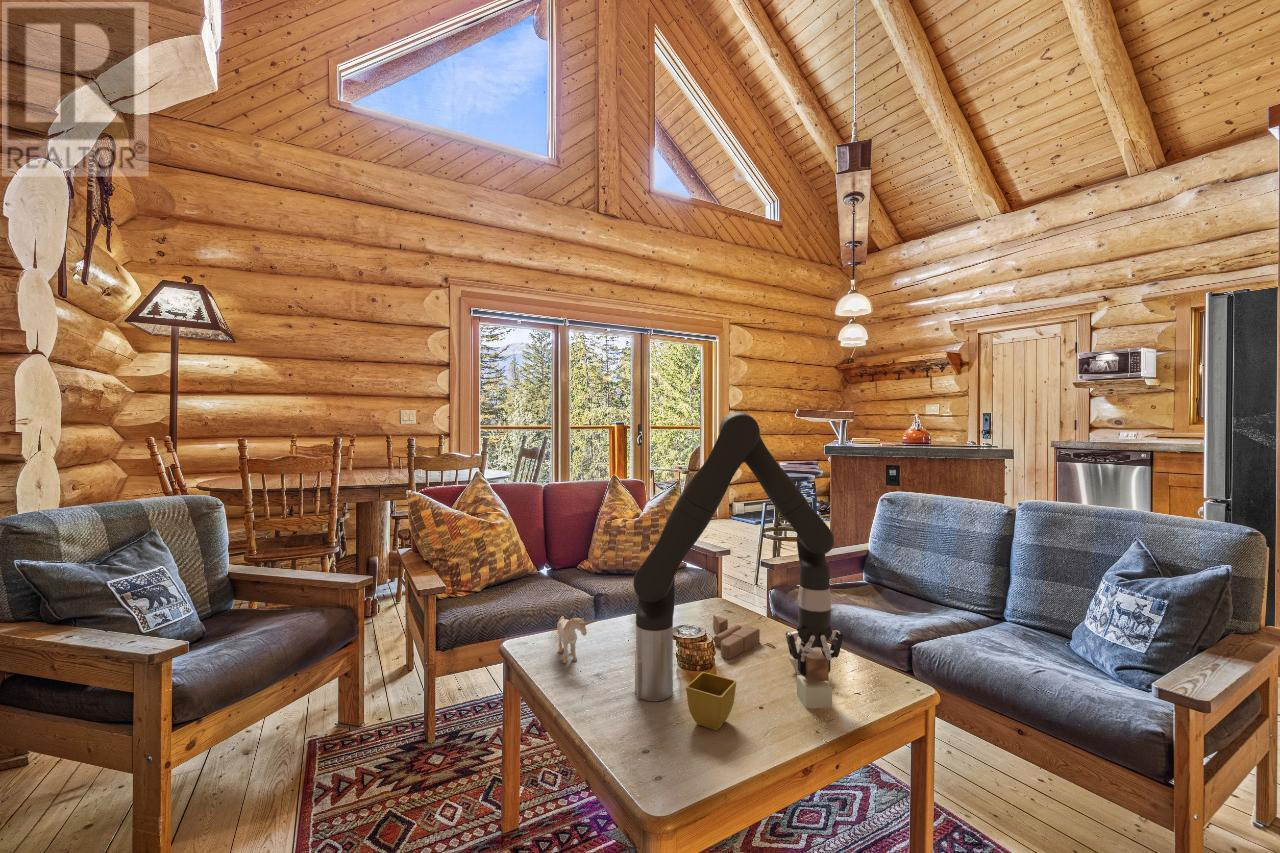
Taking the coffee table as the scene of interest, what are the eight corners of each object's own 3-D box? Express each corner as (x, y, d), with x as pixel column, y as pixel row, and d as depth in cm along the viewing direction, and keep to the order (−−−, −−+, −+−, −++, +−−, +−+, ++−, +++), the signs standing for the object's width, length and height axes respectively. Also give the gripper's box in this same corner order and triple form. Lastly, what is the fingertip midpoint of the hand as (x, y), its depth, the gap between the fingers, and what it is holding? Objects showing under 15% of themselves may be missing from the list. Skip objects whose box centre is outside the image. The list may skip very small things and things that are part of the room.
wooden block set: (761, 624, 173) (729, 642, 159) (761, 643, 173) (729, 662, 159) (715, 611, 184) (681, 627, 171) (715, 628, 184) (681, 645, 171)
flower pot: (721, 738, 121) (721, 696, 121) (684, 726, 126) (685, 686, 126) (737, 719, 129) (737, 680, 129) (702, 708, 133) (702, 671, 133)
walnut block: (808, 681, 134) (808, 660, 134) (800, 672, 139) (800, 652, 139) (828, 680, 135) (828, 659, 135) (819, 671, 140) (819, 651, 140)
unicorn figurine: (576, 675, 151) (576, 625, 151) (543, 650, 167) (543, 605, 166) (599, 667, 155) (599, 619, 155) (565, 644, 171) (564, 600, 171)
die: (819, 687, 145) (835, 651, 148) (788, 668, 147) (804, 632, 150) (809, 684, 153) (825, 650, 156) (779, 665, 155) (796, 632, 158)
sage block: (805, 708, 134) (805, 687, 134) (796, 695, 140) (796, 675, 140) (832, 708, 134) (832, 687, 134) (822, 694, 140) (822, 674, 140)
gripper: (791, 611, 132) (791, 683, 133) (850, 609, 134) (849, 680, 134) (780, 600, 140) (779, 668, 140) (836, 598, 141) (835, 666, 141)
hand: (814, 674), depth 137 cm, fingers closed on walnut block, 5 cm apart
